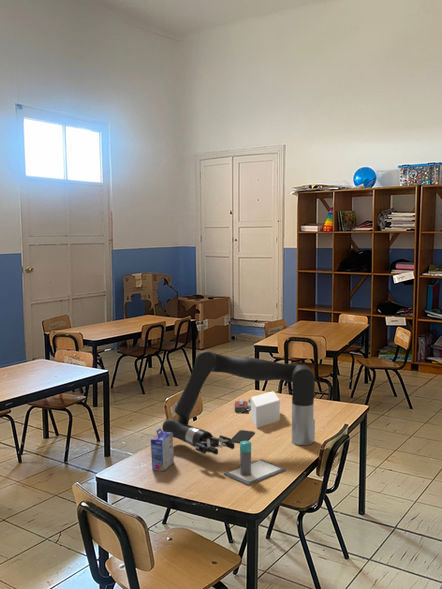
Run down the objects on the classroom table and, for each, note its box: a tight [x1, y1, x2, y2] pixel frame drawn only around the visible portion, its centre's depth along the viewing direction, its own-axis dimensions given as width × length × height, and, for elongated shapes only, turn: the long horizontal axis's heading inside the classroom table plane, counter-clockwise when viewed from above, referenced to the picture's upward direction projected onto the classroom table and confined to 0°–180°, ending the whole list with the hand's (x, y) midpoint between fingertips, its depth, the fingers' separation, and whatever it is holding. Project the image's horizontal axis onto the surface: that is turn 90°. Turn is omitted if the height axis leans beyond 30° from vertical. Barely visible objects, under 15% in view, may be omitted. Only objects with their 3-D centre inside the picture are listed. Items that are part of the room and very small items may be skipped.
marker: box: [239, 440, 252, 476], centre depth 215 cm, size 4×4×12 cm
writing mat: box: [223, 458, 287, 486], centre depth 219 cm, size 20×13×1 cm, turn 132°
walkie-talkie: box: [234, 398, 251, 413], centre depth 301 cm, size 9×4×20 cm
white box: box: [250, 390, 281, 429], centre depth 282 cm, size 14×29×10 cm, turn 159°
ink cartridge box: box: [150, 427, 175, 472], centre depth 225 cm, size 10×6×14 cm, turn 161°
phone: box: [231, 429, 256, 444], centre depth 257 cm, size 7×1×15 cm
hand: (225, 449), depth 223 cm, fingers open, 8 cm apart
